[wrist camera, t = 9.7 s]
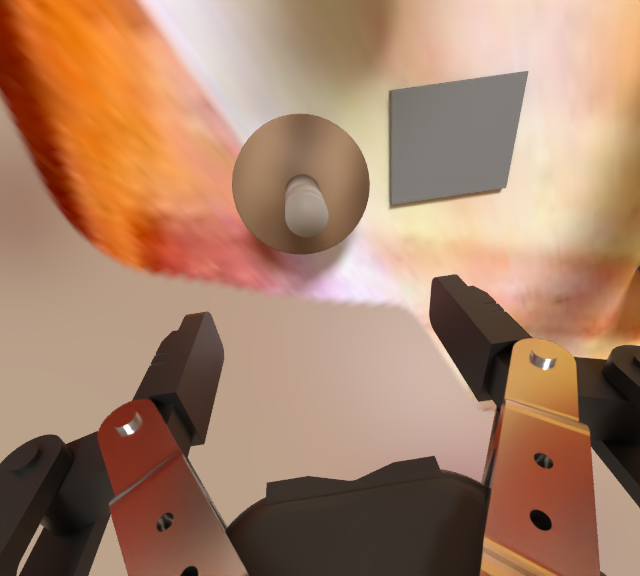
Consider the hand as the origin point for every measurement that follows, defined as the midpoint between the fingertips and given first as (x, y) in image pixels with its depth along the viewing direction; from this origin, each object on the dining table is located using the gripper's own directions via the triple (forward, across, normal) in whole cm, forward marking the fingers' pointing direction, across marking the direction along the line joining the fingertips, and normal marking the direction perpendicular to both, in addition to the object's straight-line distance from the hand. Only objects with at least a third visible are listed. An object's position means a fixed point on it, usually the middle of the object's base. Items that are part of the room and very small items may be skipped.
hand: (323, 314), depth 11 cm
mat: (+23, -15, -1) cm, 27 cm away
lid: (+18, 0, 0) cm, 18 cm away
